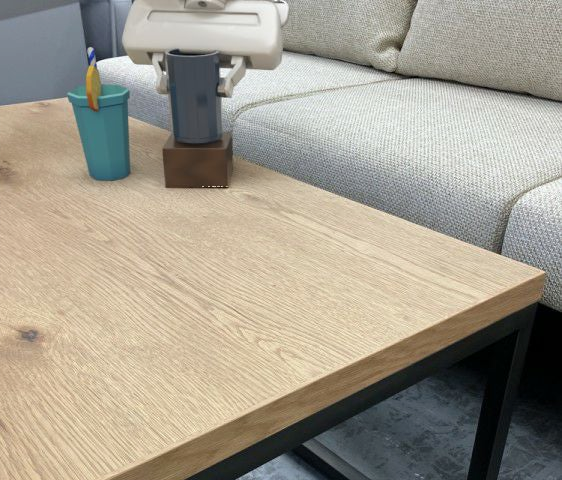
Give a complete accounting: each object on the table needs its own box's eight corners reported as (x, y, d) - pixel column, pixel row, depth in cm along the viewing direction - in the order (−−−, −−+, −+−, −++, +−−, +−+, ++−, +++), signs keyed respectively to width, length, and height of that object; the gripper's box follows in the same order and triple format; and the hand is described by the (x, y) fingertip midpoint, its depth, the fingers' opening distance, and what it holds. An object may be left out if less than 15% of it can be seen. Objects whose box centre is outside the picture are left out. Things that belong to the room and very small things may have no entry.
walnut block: (165, 187, 90) (161, 148, 87) (175, 168, 96) (172, 131, 93) (227, 188, 89) (226, 148, 87) (233, 168, 96) (231, 131, 93)
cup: (77, 160, 99) (58, 44, 91) (132, 155, 101) (118, 41, 93) (83, 191, 88) (62, 63, 80) (145, 185, 90) (130, 59, 82)
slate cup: (168, 143, 87) (160, 56, 82) (176, 129, 93) (169, 47, 87) (220, 143, 87) (216, 56, 81) (225, 129, 92) (221, 47, 87)
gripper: (296, 15, 90) (279, 112, 87) (146, 10, 94) (126, 104, 91) (288, -22, 84) (270, 81, 81) (129, -25, 88) (107, 74, 85)
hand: (192, 93), depth 86 cm, fingers closed on slate cup, 6 cm apart
